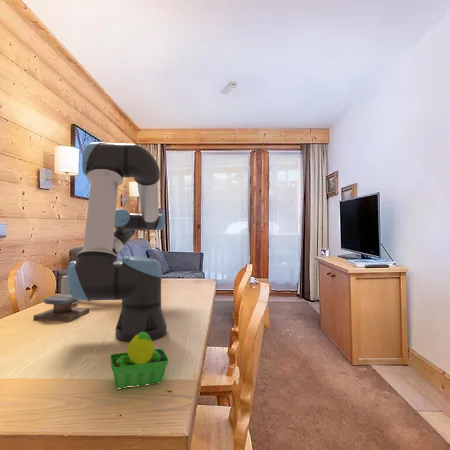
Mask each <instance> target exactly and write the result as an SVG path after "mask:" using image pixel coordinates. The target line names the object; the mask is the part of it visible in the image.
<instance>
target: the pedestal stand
mask: <svg viewBox="0 0 450 450" xmlns="http://www.w3.org/2000/svg"><path fill="white" fill-rule="evenodd" d="M80 301H81V300H75V299H74V298H73V297H72V296H71V295H61V294H57V295H53V296H48V297H45V298H43V303H44V304H46V305H52V306H53V307H52V308H50V309H47V310H45V311H43V312H42V311H41V312H40V313H36V314H33V320H34V321H45V322H46V321H48V322H64V323H65V322H66V323H69V322H70V321H73V320H75V319H77V318H80V317H82V316H83V315H85V314H88V313H90V308H89V307H73V306H72V303H74V302H78V303H79V302H80Z"/></svg>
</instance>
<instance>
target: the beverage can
mask: <svg viewBox="0 0 450 450" xmlns="http://www.w3.org/2000/svg"><path fill="white" fill-rule="evenodd" d="M60 295H71V294H70V291H69V287H68V281H67V275H62V276H61V279H60ZM78 303H79V301H78V302H74V303H72V305H73V306H75V305H77V304H78Z"/></svg>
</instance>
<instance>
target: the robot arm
mask: <svg viewBox="0 0 450 450" xmlns="http://www.w3.org/2000/svg"><path fill="white" fill-rule="evenodd" d="M81 160H82V161H81V162H82V163H81V167H82V168H81V169H82V172H83V175H85V176H86V179H87V181H88V182H90V185H89V186H90V187H89V195H88V203H87V213H86V221H85V227H84V228H85V230H84V238H83V246H82V249H81V250H80V251H79V252H78V253H76V259H75V260H72V261H70V262H69V263H68V266H67V273H66V276H67V281H68V287H69V291H70V294H71V296H72V297H73V298H74V299H75V300H80V301H82V302H83V301H86V302H92V301H121V311H120V314H119V318H118V320H117V323H116V325H115V337H116V338H117V340H121V341H124V342H130V341H131V340H132V339H133V338H134V337H135V336H136V335H137V334H139V333H140V332H146V333H147V334H148V335H149V336H150V338H151V340H152V341H154V340H157V339H160V338H162V337H164V336H165V335H166V334H167V332H168V331H167V330H168V329H167V327H168V326H167V322H166V319H165V316H164V312H163V310H162V277H163V274H162V264H161V262H160V261H159V260H157V259H154V258H150V257H146V256H145V257H144V256H135V255H134V256H133V255H125V256H123V257H122V259H121V260H117V259H118V256H117V254H118V252H120V251H121V250H122V248H124V246H125V245H126V244H127V243H128V242H129V240H131V239H132V237H134V235H135V234H136V233H137V232H138V231H162V230H164V228H165V217H164V214H162V213H160V208H159V206H160V205H159V188H158V187H159V186H158V183H159V181H160V179H161V172H160V167H159V164H158V162H157V160H156V158H154V156H153V154H152V153H151V152H150V151H148V150H147V149H146V148H145V147H143V146H141V145H139V144H137V143H119V142H118V143H116V142H115V143H114V142H113V143H112V142H104V141H98V142H90V143H88V144H87V145H86V146H85V147H84V150H83V153H82V158H81ZM124 178H133V180H134V181H135V183H137V189H138V190H137V191H138V199H139V206H140V213H132V212H131V213H130V212H129V211H128V210H127V209H125V208H118V209H117V202H118V201H117V200H118V187H119V186H120V185H122V184H123V182H124Z"/></svg>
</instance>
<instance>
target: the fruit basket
mask: <svg viewBox="0 0 450 450" xmlns="http://www.w3.org/2000/svg"><path fill="white" fill-rule="evenodd" d="M109 359H110V368H111V371H112V372H113V377H114V382H115V386H116V389H117V388H124V387H127V386H137V385H146V384H151V385H153V384H152V383H159V382H162V383H163V379H164V376H165V375H164V374H165V371H166V368H167V365H168V362H169V358H168V356H167V354H166V352H165V351H164V349H162V348H155V344H154V342H153V340H151V338H150V336H149V335H148V334H147V333H146V332H140V333H139V334H137V335H136V336H135V337H134V338H133V339H132V340H131V341H129V343H128V345H127V352H120V353H112V354H110V356H109ZM159 384H160V383H159ZM146 386H147V385H146Z"/></svg>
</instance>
